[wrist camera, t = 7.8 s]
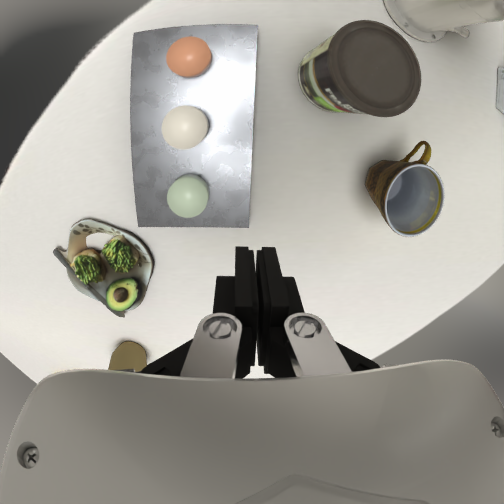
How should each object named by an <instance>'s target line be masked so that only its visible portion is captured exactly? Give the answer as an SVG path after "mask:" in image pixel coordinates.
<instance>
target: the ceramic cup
mask: <svg viewBox="0 0 504 504" xmlns="http://www.w3.org/2000/svg"><path fill="white" fill-rule="evenodd" d="M423 144H425V150H424V153H423V155H422V157H421V158H420V159H419V160H418V161H414V162H408V161H409V159H410V157H412V156H413V155H414V154H415V153H416V152H417V151H418V149H419V148H420V147H421V146H422V145H423ZM430 157H431V147H430V145H429V144H428V143H427V142H426V141H421V142H419V143H418V144H417V145H416V146H415V148H414V149H413V150H412V151H411V152H410V153H409V154H408V155H407V156H406V157H405V158H404V159H403V160H400V161H387V160H382V161H380V162H379V163H377V164H375V165H374V166H372V167H371V168H370V169H369V172H368V175H367V179H366V182H365V186H366V188H367V190H368V192H369V194H370V196H371V198H372V200H373V201H374V203H375V204H376V206H377V207H378V209H379V210H380V212H381V214H382V216H383V218H384V219H385V221H386V222H387V224H388V225H389V226H390V228H391V229H392V230H393V231H394V232H396V233H397V234H399V235H401V236H405V237H414V236H418V235H420V234H422V233H424V232H426V231H427V230H428V229H430V228H431V227H432V226H433V224H434V223H435V222H436V221H437V219H438V217H439V215H440V213H441V211H442V208H443V204H444V186H443V183H442V180H441V178H440V176H439V175H438V173H437V172H436V171H435V170H434V169H433V168H431V167H430V166H428V165H426V164H427V163H428V161H429V159H430Z"/></svg>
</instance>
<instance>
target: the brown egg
mask: <svg viewBox="0 0 504 504" xmlns="http://www.w3.org/2000/svg"><path fill="white" fill-rule="evenodd" d="M166 62H167V65H168V67H169V68H170V70H171V71H173V72H174V73H176V74H178V75H179V76H182V77H185V78H193V77H197V76H199V75H201V74H203V73H204V72H205V71H206V70H207V69H208V68H209V66H210V64H211V62H212V53H211V51H210V49H209V47H208V45H207V43H206V42H205V41H203V40H202V39H200V38H198V37H184V38H181V39H179V40H177V41H175V42H174V43H173V44H172V45H171V46H170V48H169V49H168V52H167V55H166Z"/></svg>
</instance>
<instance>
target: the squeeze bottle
mask: <svg viewBox="0 0 504 504" xmlns="http://www.w3.org/2000/svg"><path fill="white" fill-rule="evenodd" d="M146 366H147V362H146V353H145V350H144V349H143V347H141V346H140V345H139V344H137V343H135V342H131V341H126V342H123V343H122V344H121V345H120V346H119V347H118V348H117V349H116V350H115V351H114V352H113V353H112V356H111V360H110V364H109V368H108V370H122V369H134V370H135V372H138V371H142V369H143V368H145V367H146Z"/></svg>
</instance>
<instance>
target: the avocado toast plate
mask: <svg viewBox="0 0 504 504" xmlns="http://www.w3.org/2000/svg"><path fill="white" fill-rule="evenodd" d="M98 232H100V233H107V234H110V235H113V236H115V237H114V238H112V239H111V240H110V241H109V242H108V244H105V245H104V246H105V247H104V248H103V249H102V250H94V249H93V248H90V249H88V248H87V246H86V237H87V236H88V235H90V234H93V233H98ZM53 253H54V255H55V256H56V257H57V258H58V259H59V261H60V262H61V263H62V264H63V265H64V266H65V267H66V269H67V274H68V277H69V279H70V281H71V282H72V284H73V285H74V287H75V288H76V289H77V290H78V291H79V292H81V293H83V294H85V295H87V296H89V297H91V298H93V299H96V300H98V301H100V302H102V303H103V304H104V305H106V307H107V308H108V309H109V310H110V311H111V312H113V313H114V314H116V315H117V316H119V317H125V315H124V313H125V311H128V310H132V309H135V308H136V307H138V306H139V305H140V304H141V302H142V301H143V299H144V296H145V293H146V291H147V287H148V283H149V280H150V278H151V276H152V273H153V268H154V260H153V258H152V255H151V253H150V251H149V250H148V248H147V246H146V245H145V244H144V243H143V242H142V241H141V240H140V239H139V238H137V237H136V236H135V235H133V234H132V233H130V232H128V231H126V230H120V229H117V228H115V227H112V226H110V225H108V224H105V223H101V222H98V221H94V220H92V219H86V220H80V221H79V222H77V223H76V224H74V225H73V226H72V227H71V230H70V234H69V241H68V248H67V251H66V252H63V251H61V250H59V249H57V248H56V249H54V251H53ZM138 264H139V265H138Z"/></svg>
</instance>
